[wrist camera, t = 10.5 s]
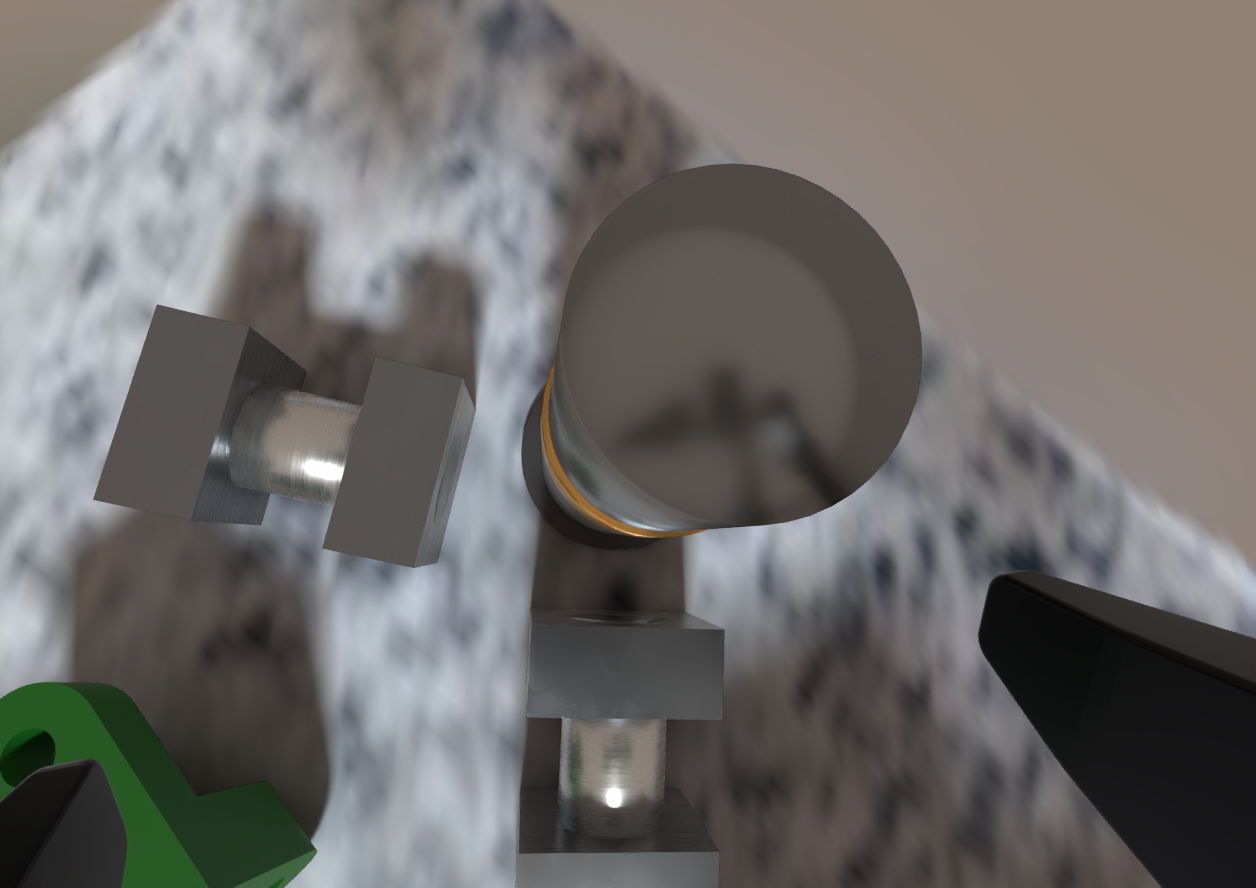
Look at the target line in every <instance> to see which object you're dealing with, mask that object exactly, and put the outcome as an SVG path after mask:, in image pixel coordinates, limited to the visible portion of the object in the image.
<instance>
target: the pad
mask: <svg viewBox="0 0 1256 888" xmlns="http://www.w3.org/2000/svg"><path fill="white" fill-rule="evenodd" d="M543 401H544V395H543V396H542V397H541V399H540V400H539V401H538V403H537V404H536V406H535V408H534V409H533V411H532V413H531V415H530V417H529V420H528V422H527V425H526V428H525V432H524V436H523V442H522V468H523V475H524V479H525V482H526V486H527V488H528V491H529V493H530V495H531V498H532V500H533V501H534V503H535V505H536V506H537V508H538V510H539V511H540V512H541V513H542V515H543V516H544V517H545V518H546V519H547V520H548V521H549V522H550V523H551V524H552V525H553V526H554V527H555V528H556V529H558V530H559V531H560V532H562V533H563V534H564V535H566V536H568V537H570V538H571V539H573V540H575V541H577V542H580V543H583V544H585V545H588V546H592V547H596V548H602V549H611V550H618V549H630V548H636V547H640V546H643V545H647V544H650V543H652V542H654V541H656V540H659V539H661V538H662V537H661V538H640V537H633V536H626V535H607V534H601V533H597V532H594V531H591V530H589V529H586V528H584V527H582V526H580V525H579V524H577V523H575V522H574V521H572V520H571V519H570V518H569V517H567V516H566V515H565V514H564V513H563V512H562V511H561V510H560V509H559V508H558V506H557V505H556V504H555V502H554V501H553V499H552V498H551V496H550V494H549V492H548V490H547V488H546V485H545V483H544V479H543V475H542V470H541V446H542V442H541V416H542V408H543Z"/></svg>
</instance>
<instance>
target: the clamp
mask: <svg viewBox="0 0 1256 888" xmlns="http://www.w3.org/2000/svg"><path fill="white" fill-rule="evenodd" d="M86 758H91V759H95V760H98V761H99V762H100V763H101V764H102V766H103V767H104V769H105V771H106V773H107V776H108V779H109V782H110V784H111V787H112V790H113V793H114V795H115V798H116V801H117V804H118V806H119V809H120V812H121V815H122V817H123V820H124V823H125V826H126V830H127V838H128V853H127V861H126V867H125V873H124V879H123V885H122V888H284V887H285V886H286V885H287V884H288V883H289V882H290V881H291V880H293V879H294V878H295V877H296V876H297V875H298V874H299V873H300V872H301V871H302V870H303V869H304V868H305V867H306V866H307V864H308V863H309V862H310V861H311V860H312V859H313V857H314V856H315V855H316V853H317V850H316V849H315V847H314V846H313V844H312V843H311V841H310V840H309V839H308V837H307V836H306V834H305V833H304V831H303V830H302V829H301V827H300V826H299V824H298V823H297V821H296V820H295V819H294V817H293V816H292V814H291V813H290V811H289V810H288V809H287V807H286V806H285V804H284V803H283V801H282V800H281V799H280V797H279V796H278V794H277V793H276V792H275V790H274V789H273V787H272V786H271V784H270V783H269V782H268V781H262V782H257V783H253V784H249V785H244V786H240V787H236V788H231V789H227V790H223V791H218V792H214V793H210V794H205V795H201V796H197V795H196V794H195V793H194V791H193V790H192V788H191V787H190V785H189V784H188V782H187V781H186V779H185V778H184V776H183V775H182V773H181V772H180V770H179V769H178V767H177V766H176V764H175V763H174V761H173V760H172V758H171V757H170V755H169V754H168V752H167V751H166V749H165V748H164V746H163V745H162V743H161V742H160V740H159V739H158V737H157V736H156V734H155V733H154V731H153V730H152V728H151V727H150V725H149V724H148V722H147V721H146V719H145V718H144V716H143V715H142V713H141V712H140V710H139V709H138V707H137V706H136V704H135V703H134V702H133V700H132V699H131V698H130V697H129V696H128V695H127V694H126V693H124V692H123V691H121V690H120V689H118V688H116V687H113V686H111V685H107V684H102V683H60V682H43V683H35V684H30V685H26V686H23V687H21V688H18V689H16V690H14V691H12V692H10V693H8V694H7V695H5V696H4V697H2V698H1V699H0V801H1V800H2V799H3V798H4V797H5V796H6V795H7V794H9V793H10V792H11V791H12V790H13V789H14V788H15V787H17V786H18V785H19V784H20V783H21V782H22V781H23V780H25V779H26V778H27V777H28V776H29V775H31V774H32V773H33V772H35V771H37V770H38V769H41V768H44V767H47V766H51V765H56V764H61V763H66V762H71V761H76V760H81V759H86Z"/></svg>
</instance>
